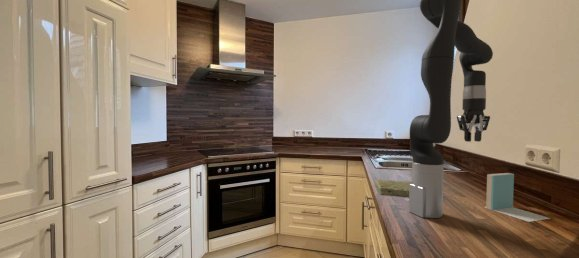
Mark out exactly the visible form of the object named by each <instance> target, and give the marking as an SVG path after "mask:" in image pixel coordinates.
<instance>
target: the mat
mask: <svg viewBox="0 0 579 258" xmlns="http://www.w3.org/2000/svg"><path fill="white" fill-rule="evenodd" d="M483 208H485V209H488V208H486V206H484V207H483ZM488 210H490V211H492V210H491V209H488ZM493 211H494V212H498V213H500V214H503V215H506V216H510V217H513V218H516V219H518V220H522V221H525V222H528V223H530V222H536V221H537V222H538V221H543V220H550V219H551V217H547V216H544V215H542V214H541V215H540V214H537V213H534V212H531V211H528V210H527V211H526V210H523V209H520V208H517V207H514V206H513V207H511V208H504V209H496V210H493Z"/></svg>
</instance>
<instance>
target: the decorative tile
mask: <svg viewBox="0 0 579 258" xmlns="http://www.w3.org/2000/svg"><path fill="white" fill-rule="evenodd" d="M410 184H412V181H407V180H383V179H376V180H374V187H375V188H377V189H376V191H377V192H378V194H379V195H380V196H383V195H384V196H396V197H406V198H409V190H410Z"/></svg>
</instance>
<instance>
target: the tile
mask: <svg viewBox="0 0 579 258" xmlns="http://www.w3.org/2000/svg"><path fill="white" fill-rule="evenodd" d="M514 180H515V174H514V173H510V172H504V173H501V172H500V173H487V175H486V197H485V198H486V199H485V200H486V202H485V204H486V205H485V207H486V208H485V209H487V208H488V210H490V209H491V210H490V211H494V210H496V209H504V208H511V207H514V188H515V187H514V186H515V185H514V184H515V181H514Z"/></svg>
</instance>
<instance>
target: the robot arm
mask: <svg viewBox="0 0 579 258" xmlns="http://www.w3.org/2000/svg"><path fill="white" fill-rule="evenodd" d="M461 7H462V0H419V10H420V11H421V14H422V15H423V17H425V19H426V20H427V21H428V22H430V24H432V25H433V26H435V28H436V29H437V31H436V32H435V34H434V35H433V36H432V38H431V40H430V42H428V44H427V46H426V48H425V49H424V51H423V53H422V57H421V63H420V64H421V65H420V78H421V82H422V84H423V86H424V87H425V90H426V92H427V94H428V96H429V97H428V98H429V113H428V114H421V115H417V116H415V117H414V118H413V119H412V121H411V123H410V126H409V151H410V155H411V156H412V167H411V168H412V171H411V174H412V175H411V176H412V178H411V182H412V184H410V190H409V197H408V198H409V200H408V204H409V205H408V208H409V209H408V211H409V213H411V214H414V215H416V216H417V217H420V218H429V219H438V218H439V219H440V218H441V217H443V200H444V199H443V198H444V197H443V195H444V162H445V160H444V159H445V158H444V155H443V154H442V153H440V152H439V151H438V150H436V148H435V146H434V144H439V145H440V144H443V143H444V142H446V141H447V140H448V138H449V136H450V134H451V128H452V112H451V111H452V110H451V108H452V107H451V97H452V93H451V92H452V79H453V74H454V73H453V72H454V63H455V62H454V61H455V49H456V50H457V51H458V52H460V53H459V58H458V59H459V62H460V66H461V69H462V74H463V89H462V90H463V91H462V111H463V114H461V115H457V116H456V121H457V124H458V127H459V130H460V131H463V133H464V134H463V135H464V137H463V140H464V142H470V143H471V142H472V129H473V127H474V135H473V136H474V137H473V139H474V140H473V141H474V142H479V143H480V142H481V141H482V133H483V132H484V131H487V129H488V126H489V123H490V119H491V115H486V114H485V113H484V111H485V110H486V108H487V107H486V106H487V89H486V85H487V84H486V82H487V81H486V80H487V79H486V78H487V74H486V72H485V71H484V70H476V69H475V70H474V69H473V66H479V65H484V64H487V63H489V62H490V61H491V60H492V59H493V55H494V51H493V49H492V48H491V46H490V45H489V44H488V43H487V42H485V41H483V40H482V39H481V38H478V36H477V35H476V33H475V32H474V30H473V29H472V28H471V27H470V25H468V24H467V23H465V22H463V21H460V20H459V17H460V12H461Z"/></svg>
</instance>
